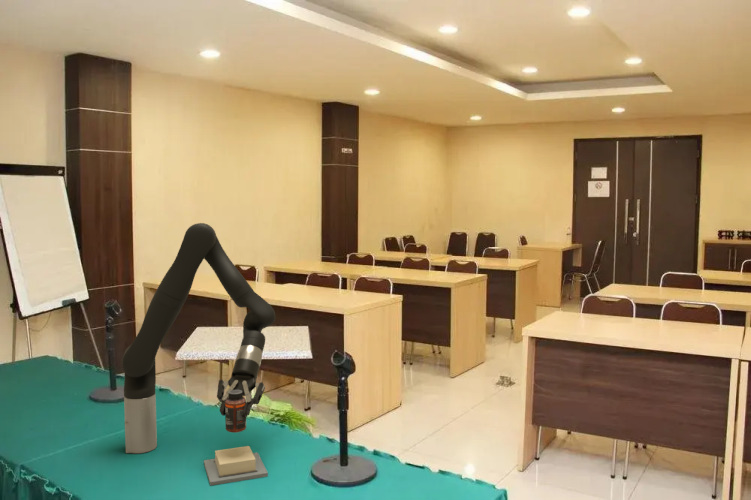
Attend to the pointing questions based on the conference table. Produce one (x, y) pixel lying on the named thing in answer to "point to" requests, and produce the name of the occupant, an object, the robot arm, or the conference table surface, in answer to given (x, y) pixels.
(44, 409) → the conference table surface
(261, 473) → the board
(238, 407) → the supplement bottle
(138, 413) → the robot arm
